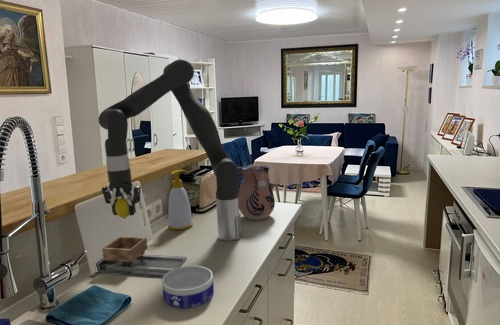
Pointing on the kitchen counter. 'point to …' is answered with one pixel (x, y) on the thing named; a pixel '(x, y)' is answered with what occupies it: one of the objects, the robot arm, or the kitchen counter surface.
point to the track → (143, 265)
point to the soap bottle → (179, 205)
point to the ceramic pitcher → (255, 192)
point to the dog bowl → (187, 286)
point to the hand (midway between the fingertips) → (124, 214)
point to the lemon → (122, 208)
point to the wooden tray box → (125, 249)
